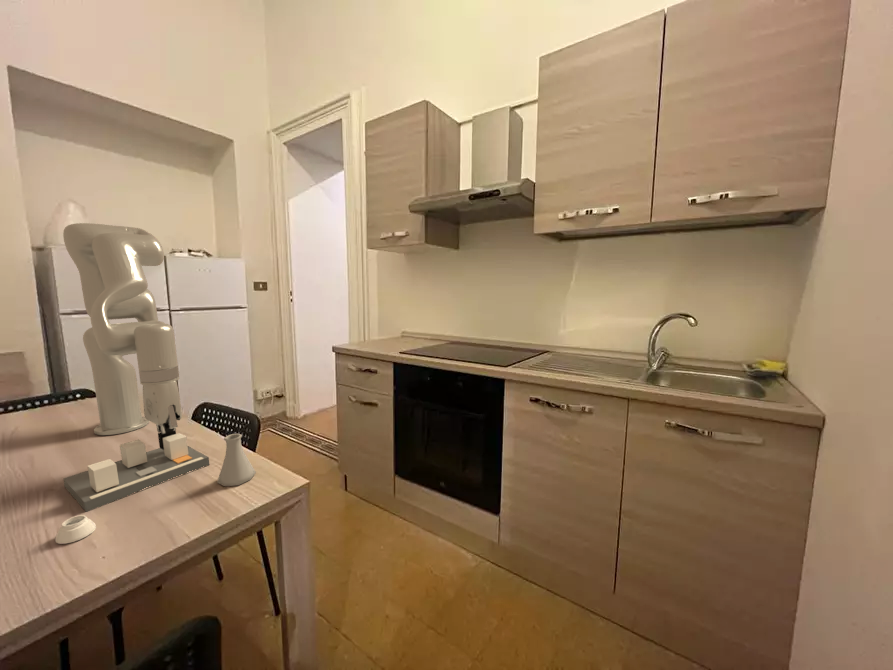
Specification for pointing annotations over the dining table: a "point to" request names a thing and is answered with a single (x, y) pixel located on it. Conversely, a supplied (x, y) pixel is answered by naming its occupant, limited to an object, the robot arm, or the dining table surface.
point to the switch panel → (133, 477)
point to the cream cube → (175, 446)
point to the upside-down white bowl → (75, 529)
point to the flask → (235, 463)
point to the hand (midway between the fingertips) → (168, 446)
